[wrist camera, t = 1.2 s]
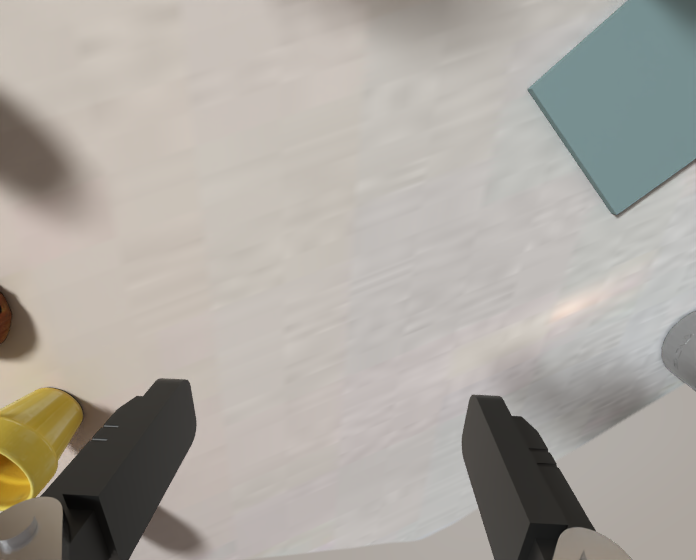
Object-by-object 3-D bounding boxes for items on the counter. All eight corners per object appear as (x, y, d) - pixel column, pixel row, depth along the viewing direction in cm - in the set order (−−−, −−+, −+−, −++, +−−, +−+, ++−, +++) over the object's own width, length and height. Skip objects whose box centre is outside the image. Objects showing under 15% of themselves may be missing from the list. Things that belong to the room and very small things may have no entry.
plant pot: (49, 447, 48) (-24, 521, 39) (-4, 387, 44) (-98, 452, 35) (114, 429, 46) (54, 502, 37) (65, 365, 43) (-15, 428, 34)
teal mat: (696, -61, 26) (707, -67, 25) (771, 97, 30) (782, 96, 29) (527, 89, 30) (531, 88, 29) (611, 213, 34) (616, 215, 33)
